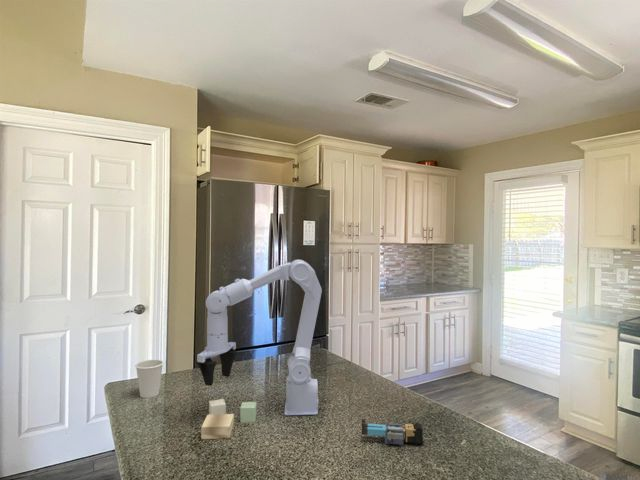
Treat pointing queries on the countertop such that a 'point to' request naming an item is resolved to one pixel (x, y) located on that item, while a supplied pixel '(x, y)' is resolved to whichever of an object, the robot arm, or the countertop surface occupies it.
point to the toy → (395, 432)
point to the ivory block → (217, 407)
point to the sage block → (248, 412)
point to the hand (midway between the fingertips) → (217, 380)
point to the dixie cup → (149, 377)
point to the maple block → (217, 426)
